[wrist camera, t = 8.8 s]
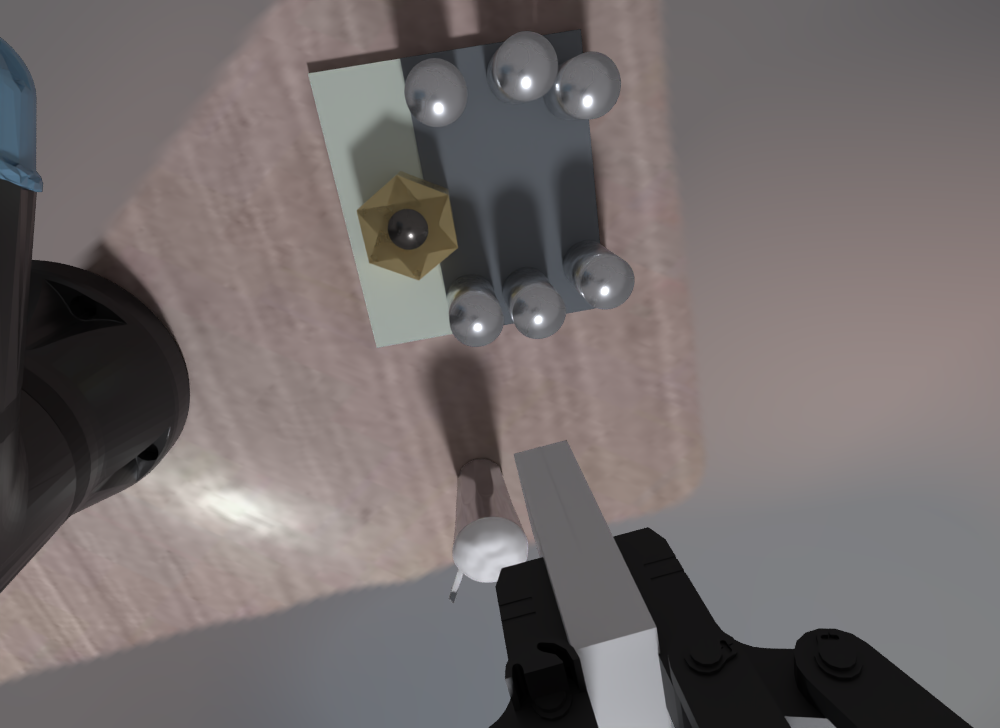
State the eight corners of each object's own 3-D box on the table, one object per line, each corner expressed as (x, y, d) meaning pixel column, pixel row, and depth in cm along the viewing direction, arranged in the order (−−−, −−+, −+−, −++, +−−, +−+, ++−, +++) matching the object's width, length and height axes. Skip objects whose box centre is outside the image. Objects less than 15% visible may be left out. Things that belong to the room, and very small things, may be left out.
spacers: (452, 326, 38) (455, 354, 34) (400, 62, 32) (395, 51, 28) (612, 297, 39) (637, 320, 34) (589, 31, 33) (616, 16, 28)
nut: (403, 283, 37) (399, 296, 34) (345, 219, 35) (336, 228, 32) (475, 222, 36) (478, 231, 33) (419, 153, 34) (417, 156, 31)
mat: (377, 345, 39) (376, 348, 38) (309, 74, 33) (307, 73, 32) (603, 303, 39) (605, 306, 39) (578, 30, 33) (580, 29, 33)
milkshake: (426, 479, 43) (426, 577, 34) (487, 438, 42) (503, 526, 33) (464, 520, 44) (473, 624, 35) (523, 481, 44) (548, 576, 34)
